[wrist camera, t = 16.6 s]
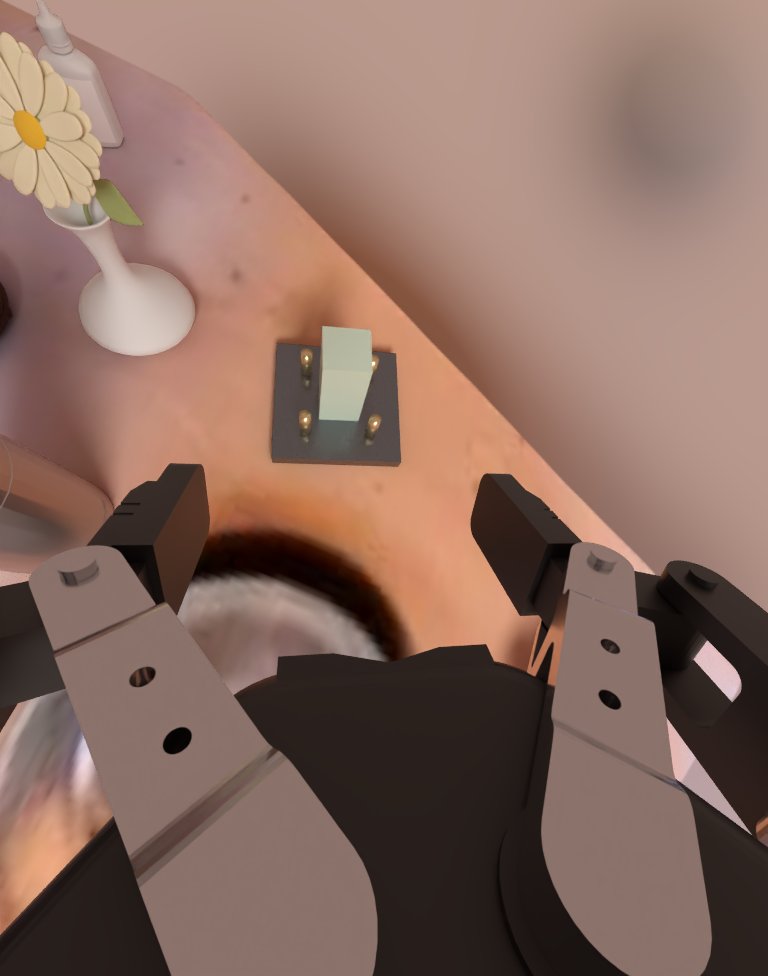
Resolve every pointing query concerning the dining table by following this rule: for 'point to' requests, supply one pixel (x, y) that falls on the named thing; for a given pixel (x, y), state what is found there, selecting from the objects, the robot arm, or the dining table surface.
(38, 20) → the eye dropper bottle
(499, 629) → the dining table surface
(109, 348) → the flower in vase
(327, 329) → the block
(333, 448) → the grey gold peg board
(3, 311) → the wooden spool stand
